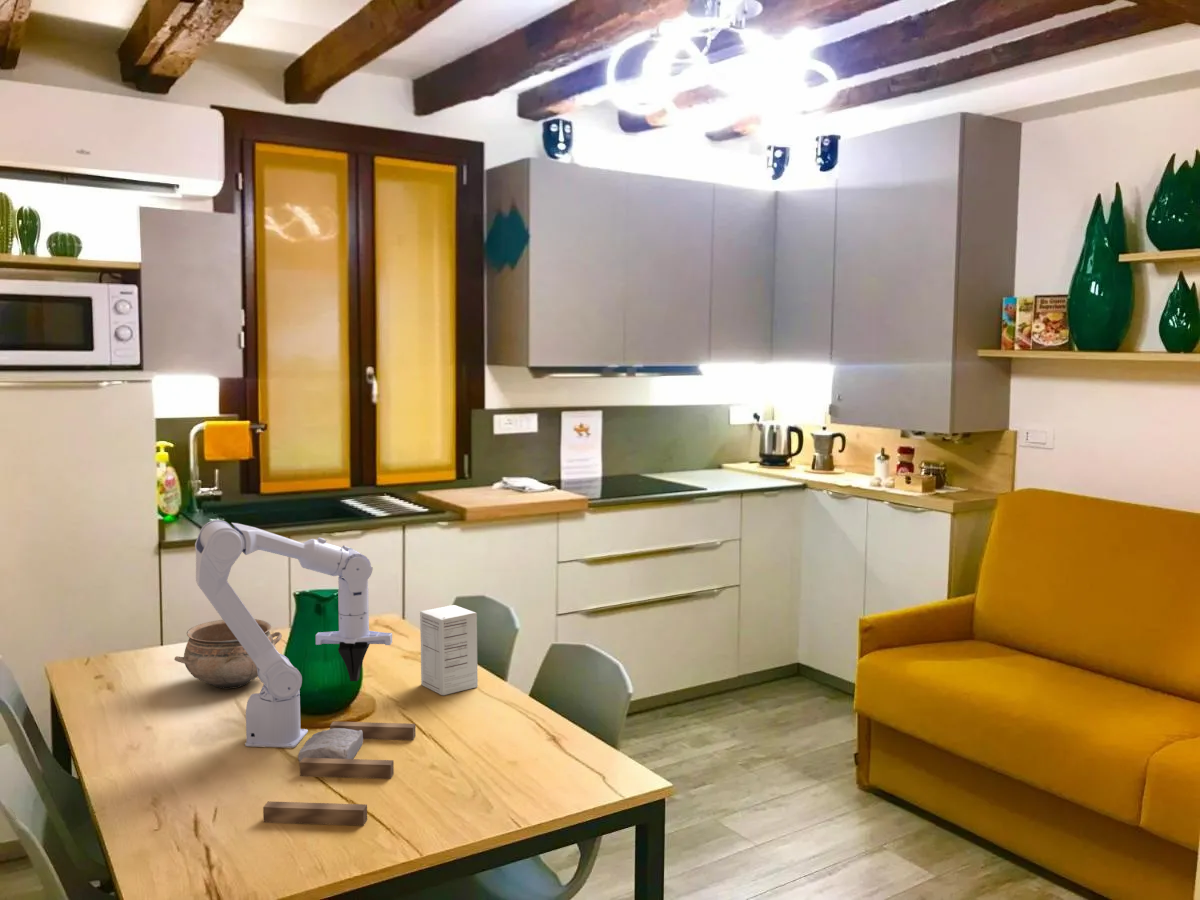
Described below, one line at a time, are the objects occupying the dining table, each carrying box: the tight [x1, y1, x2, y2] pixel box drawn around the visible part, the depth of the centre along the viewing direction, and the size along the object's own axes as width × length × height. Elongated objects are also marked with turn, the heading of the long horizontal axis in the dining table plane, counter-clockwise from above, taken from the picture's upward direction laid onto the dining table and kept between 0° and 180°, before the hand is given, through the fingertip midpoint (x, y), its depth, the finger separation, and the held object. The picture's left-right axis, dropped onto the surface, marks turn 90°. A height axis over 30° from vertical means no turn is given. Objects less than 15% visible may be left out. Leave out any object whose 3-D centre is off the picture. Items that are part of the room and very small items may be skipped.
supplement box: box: [419, 604, 479, 696], centre depth 223 cm, size 10×9×17 cm
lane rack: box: [262, 721, 416, 826], centre depth 178 cm, size 16×36×2 cm, turn 177°
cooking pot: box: [174, 618, 283, 690], centre depth 223 cm, size 25×19×12 cm
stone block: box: [297, 728, 364, 763], centre depth 186 cm, size 12×5×10 cm
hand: (354, 679), depth 200 cm, fingers closed
